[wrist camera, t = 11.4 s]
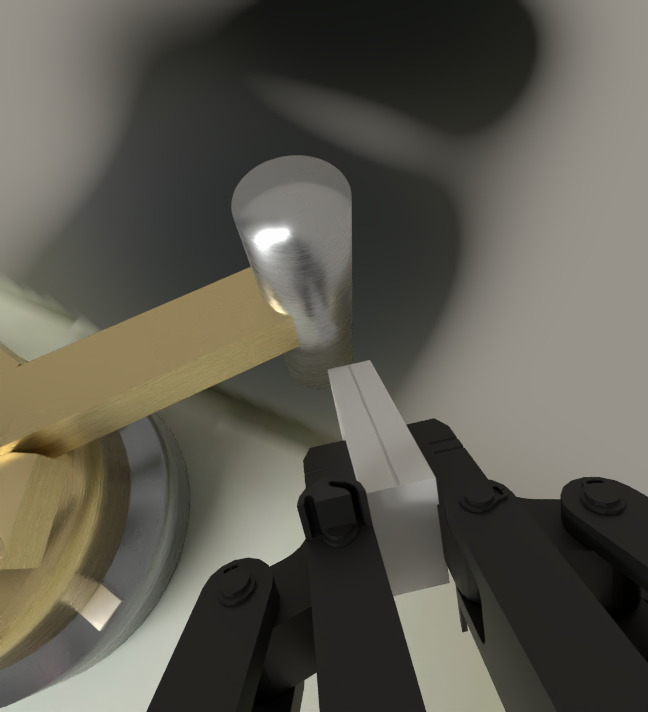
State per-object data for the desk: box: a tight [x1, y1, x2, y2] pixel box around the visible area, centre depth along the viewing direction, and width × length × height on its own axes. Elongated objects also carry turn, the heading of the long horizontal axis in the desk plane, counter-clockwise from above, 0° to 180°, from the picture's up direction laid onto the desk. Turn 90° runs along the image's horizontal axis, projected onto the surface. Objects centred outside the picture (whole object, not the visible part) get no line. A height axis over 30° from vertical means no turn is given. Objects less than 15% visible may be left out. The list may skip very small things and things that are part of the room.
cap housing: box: [0, 412, 190, 708], centre depth 17 cm, size 12×12×3 cm
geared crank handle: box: [0, 155, 353, 670], centre depth 12 cm, size 19×10×9 cm, turn 116°
